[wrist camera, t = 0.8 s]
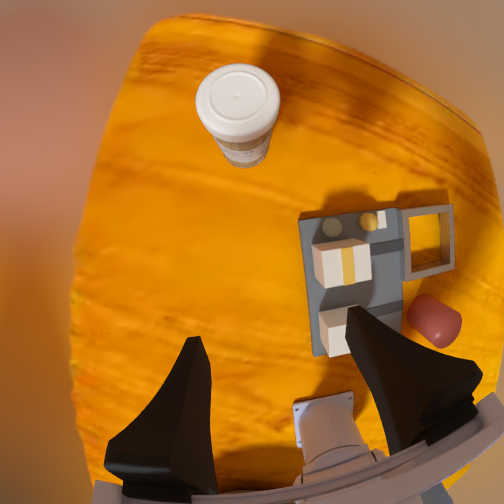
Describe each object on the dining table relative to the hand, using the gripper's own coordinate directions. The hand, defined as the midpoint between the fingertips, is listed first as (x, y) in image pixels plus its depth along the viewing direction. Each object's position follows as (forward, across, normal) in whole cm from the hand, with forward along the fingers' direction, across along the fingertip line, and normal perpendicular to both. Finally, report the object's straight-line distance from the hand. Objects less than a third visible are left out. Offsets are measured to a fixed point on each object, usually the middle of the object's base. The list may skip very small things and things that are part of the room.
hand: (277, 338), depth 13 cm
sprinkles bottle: (+18, -1, -7) cm, 20 cm away
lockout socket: (+13, -19, +4) cm, 24 cm away
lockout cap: (+11, -19, +13) cm, 26 cm away
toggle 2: (+11, -8, +11) cm, 17 cm away
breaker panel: (+13, -10, +8) cm, 18 cm away
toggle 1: (+13, -8, +4) cm, 16 cm away
